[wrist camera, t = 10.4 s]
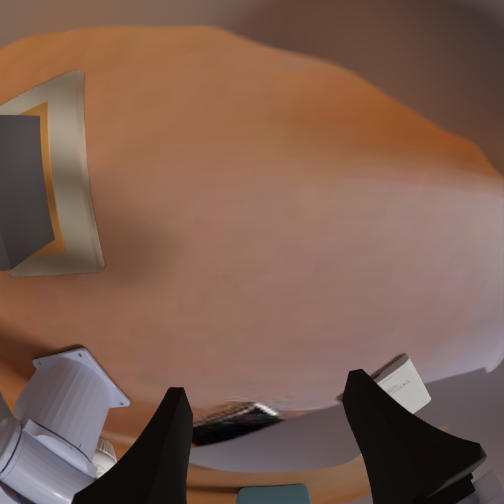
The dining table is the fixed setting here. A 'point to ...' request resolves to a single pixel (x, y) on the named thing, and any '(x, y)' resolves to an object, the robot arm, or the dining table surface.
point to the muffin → (103, 457)
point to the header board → (62, 178)
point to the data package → (274, 495)
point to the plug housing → (22, 191)
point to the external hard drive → (404, 384)
